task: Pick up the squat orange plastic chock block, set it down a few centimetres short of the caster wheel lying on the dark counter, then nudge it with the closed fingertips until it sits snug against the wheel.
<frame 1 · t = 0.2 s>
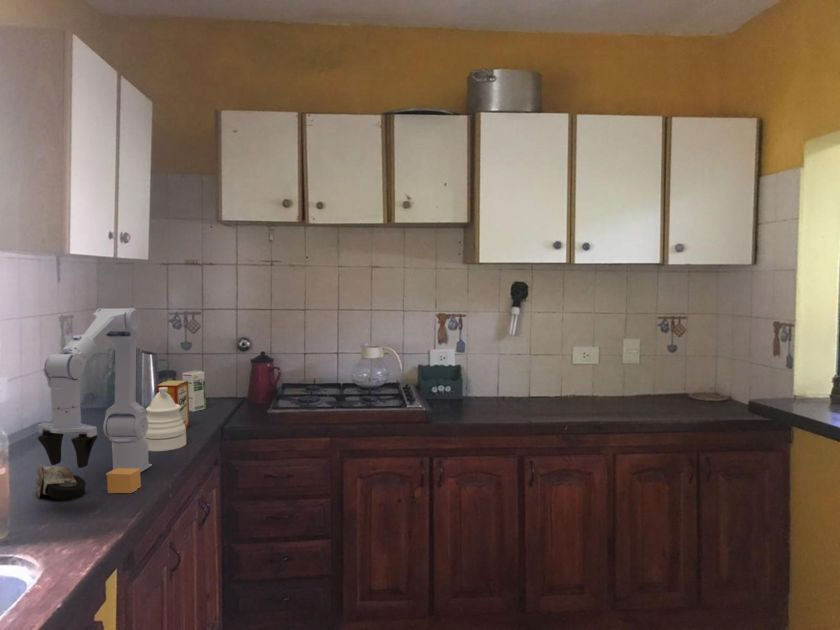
hand: (69, 465, 154), 10 cm above the worktop, tool pointing down, fingers open, 7 cm apart
baking soda box: (174, 429, 226), on the worktop
syrup box: (195, 410, 256), on the worktop
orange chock: (124, 491, 166), on the worktop
caster wheel: (61, 495, 164), on the worktop
honey pot: (164, 445, 207), on the worktop
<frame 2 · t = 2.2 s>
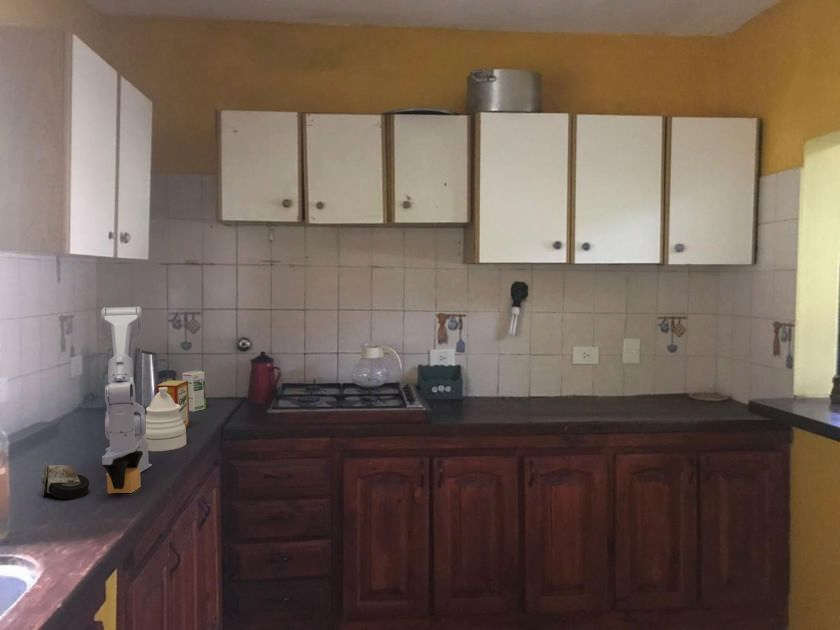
hand: (124, 484, 166), 1 cm above the worktop, tool pointing down, fingers closed on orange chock, 4 cm apart
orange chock: (124, 490, 166), on the worktop, touching gripper
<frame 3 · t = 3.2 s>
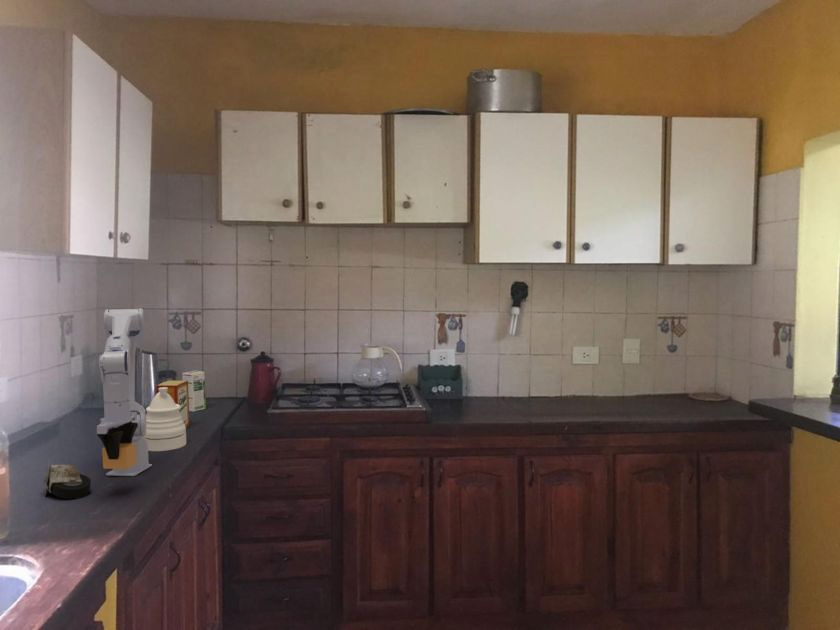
hand: (119, 455, 164), 9 cm above the worktop, tool pointing down, fingers closed on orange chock, 4 cm apart
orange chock: (120, 465, 165), point 6 cm above the worktop, touching gripper
when the fingers open (2 cm above the worktop, at t = 5.2 s): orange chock stays where it is, on the worktop.
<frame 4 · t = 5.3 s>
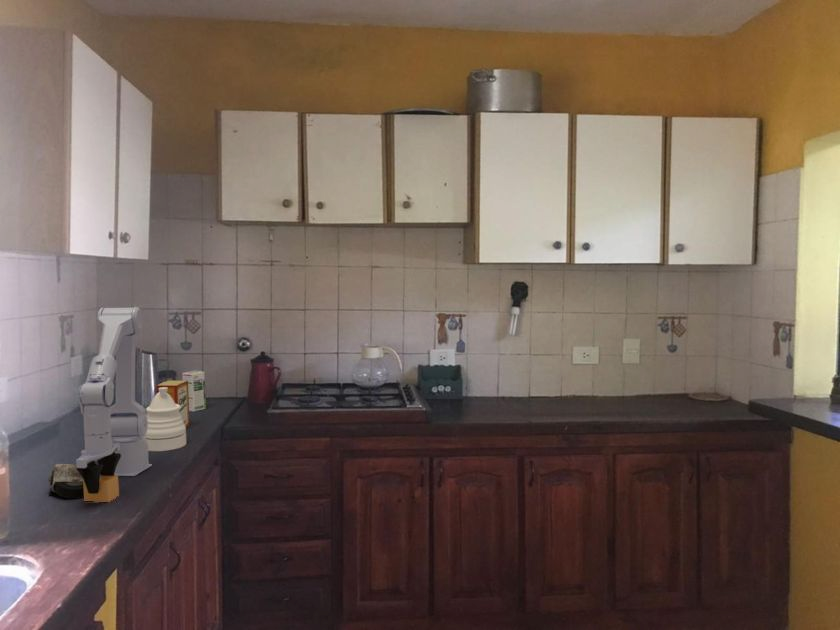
hand: (100, 488, 160), 2 cm above the worktop, tool pointing down, fingers open, 5 cm apart
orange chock: (101, 499, 160), on the worktop
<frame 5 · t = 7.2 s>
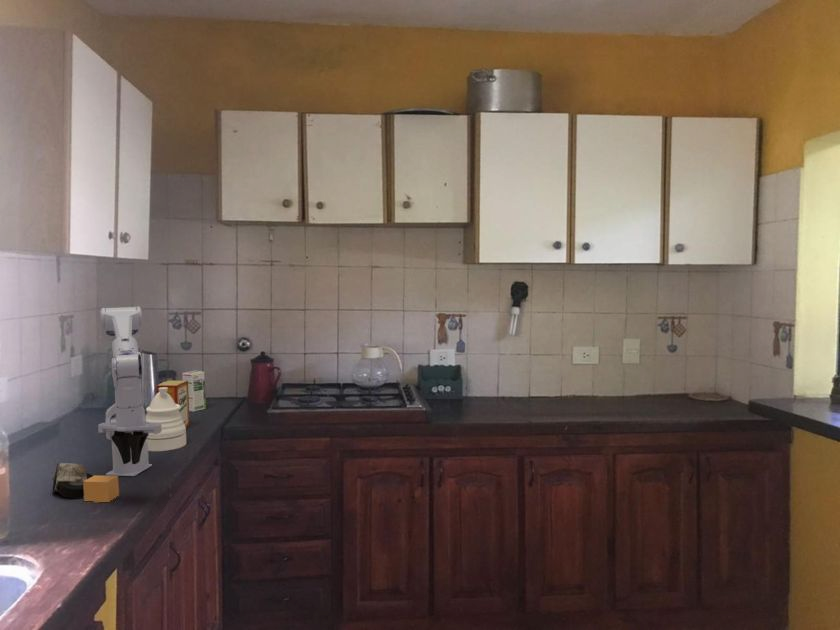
hand: (131, 462, 159), 9 cm above the worktop, tool pointing down, fingers closed
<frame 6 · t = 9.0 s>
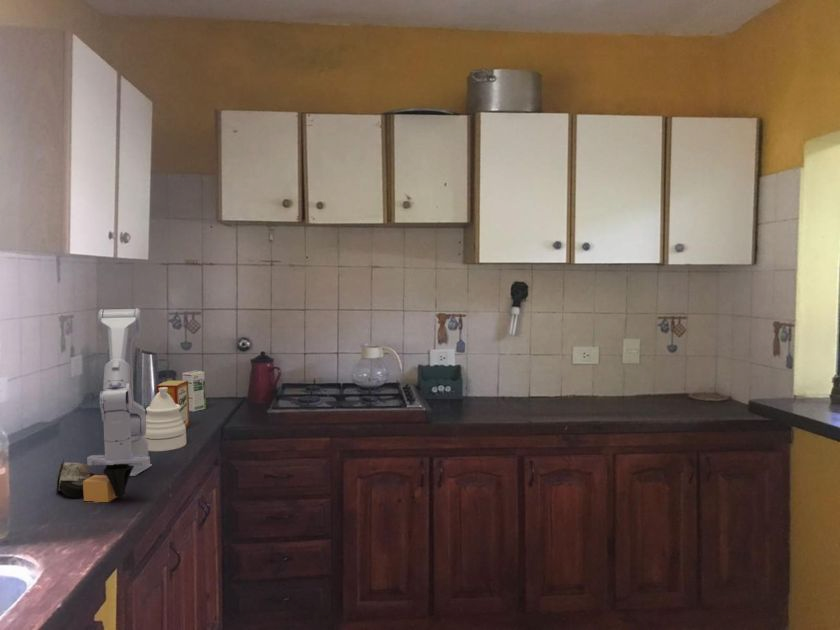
hand: (120, 495, 160), 1 cm above the worktop, tool pointing down, fingers closed
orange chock: (101, 499, 160), on the worktop, touching gripper
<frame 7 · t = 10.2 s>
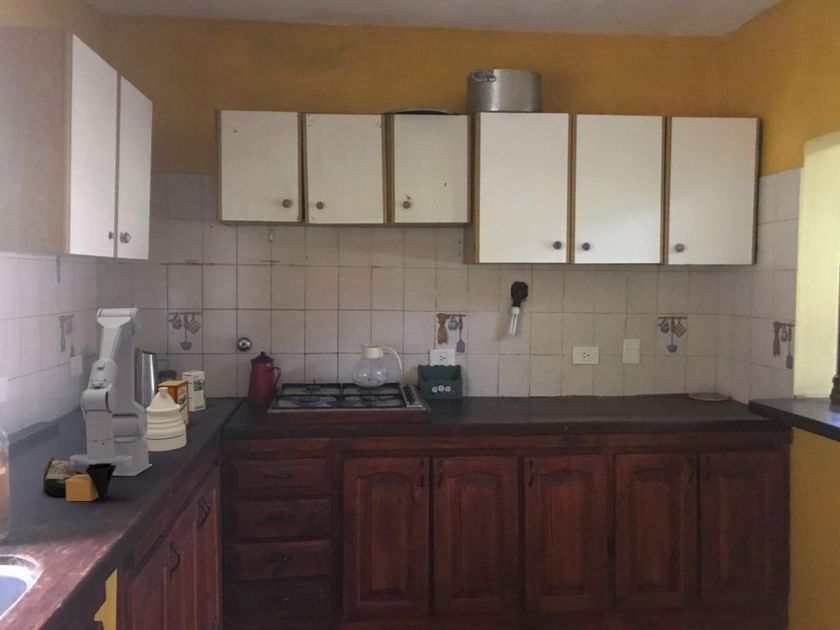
hand: (102, 494, 160), 1 cm above the worktop, tool pointing down, fingers closed
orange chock: (84, 498, 161), on the worktop, touching gripper
caster wheel: (65, 491, 167), on the worktop
everything else where it was.
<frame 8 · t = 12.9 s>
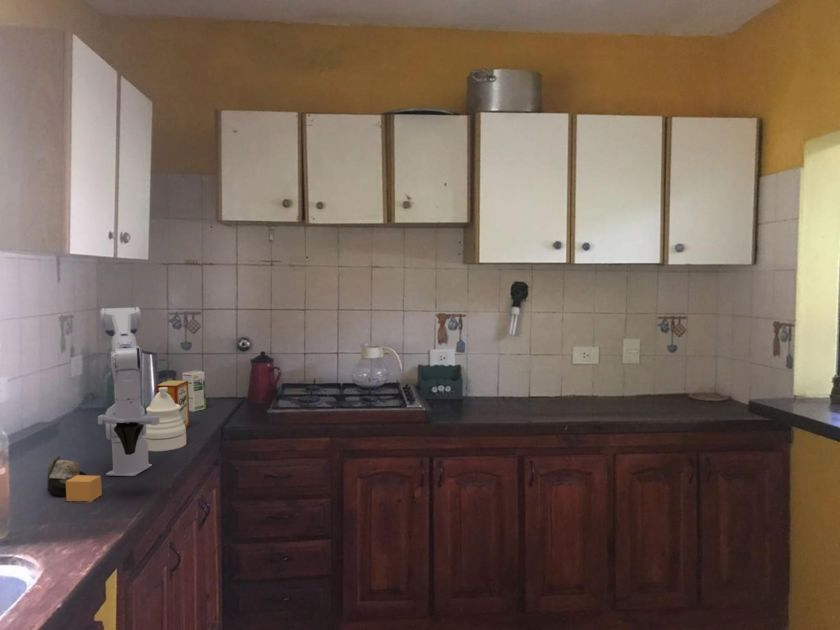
hand: (130, 453, 163), 10 cm above the worktop, tool pointing down, fingers closed
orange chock: (84, 499, 161), on the worktop
at the end: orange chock inside the target area on the worktop beside the caster wheel (5.8 cm from its centre), on the worktop; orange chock tilted 0°; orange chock moved 9.0 cm from its start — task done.
